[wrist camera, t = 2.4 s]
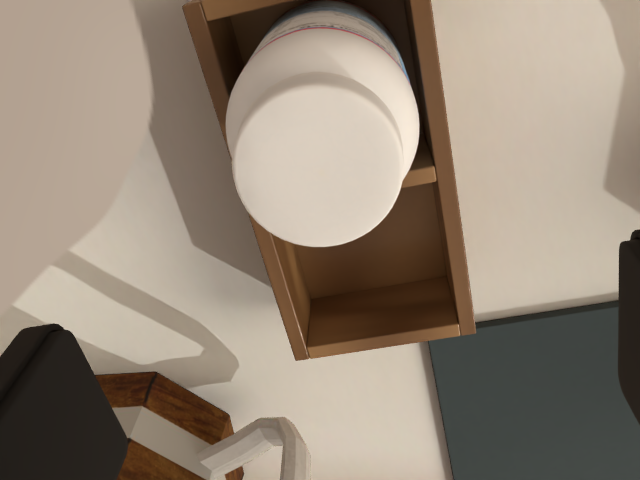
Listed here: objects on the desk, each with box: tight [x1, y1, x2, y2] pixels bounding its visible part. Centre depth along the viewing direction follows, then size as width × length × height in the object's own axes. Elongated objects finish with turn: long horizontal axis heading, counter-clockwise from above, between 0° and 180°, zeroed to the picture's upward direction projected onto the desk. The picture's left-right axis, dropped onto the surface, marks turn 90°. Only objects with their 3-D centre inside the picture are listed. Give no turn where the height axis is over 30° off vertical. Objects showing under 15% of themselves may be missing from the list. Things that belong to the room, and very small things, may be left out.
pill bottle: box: [226, 0, 419, 247], centre depth 21 cm, size 6×6×11 cm
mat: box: [428, 301, 640, 480], centre depth 35 cm, size 16×14×1 cm
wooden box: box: [183, 0, 476, 361], centre depth 26 cm, size 8×16×5 cm, turn 13°
